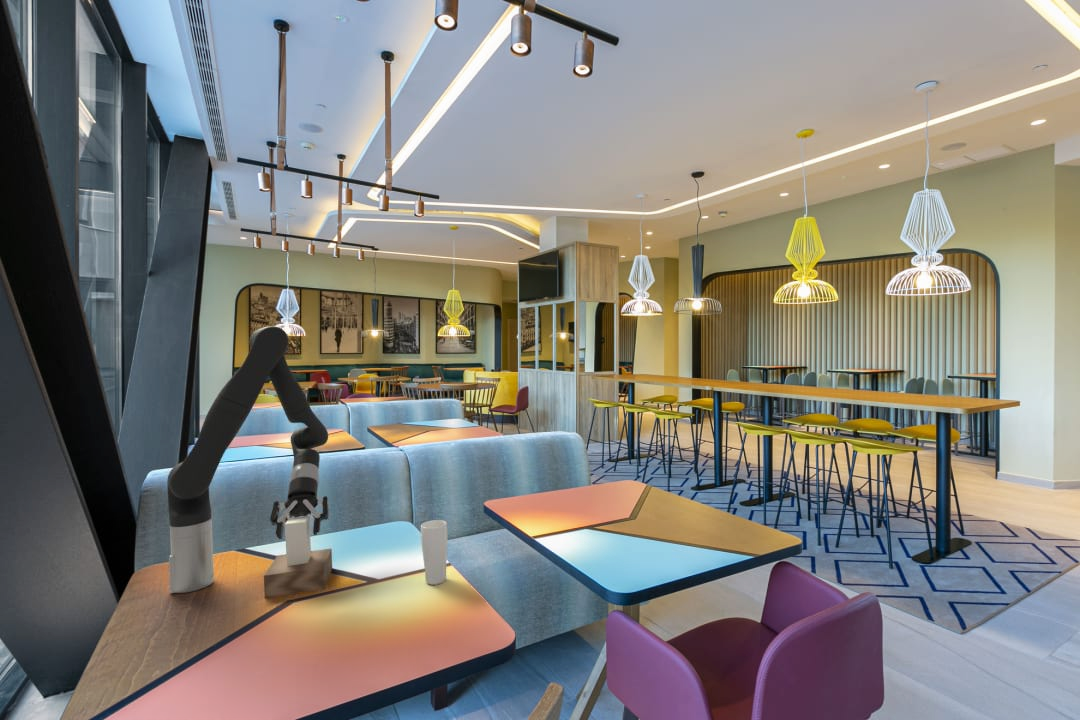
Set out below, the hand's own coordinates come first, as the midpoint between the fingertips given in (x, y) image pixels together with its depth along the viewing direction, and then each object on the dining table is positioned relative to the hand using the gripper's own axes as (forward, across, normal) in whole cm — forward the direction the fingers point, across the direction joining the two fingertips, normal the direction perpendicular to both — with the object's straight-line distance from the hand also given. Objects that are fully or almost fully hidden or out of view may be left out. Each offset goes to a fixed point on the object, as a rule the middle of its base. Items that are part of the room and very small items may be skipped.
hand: (297, 535), depth 132 cm
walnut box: (+8, 0, +10) cm, 13 cm away
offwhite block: (+4, 0, +6) cm, 7 cm away
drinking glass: (+18, +35, +1) cm, 39 cm away
